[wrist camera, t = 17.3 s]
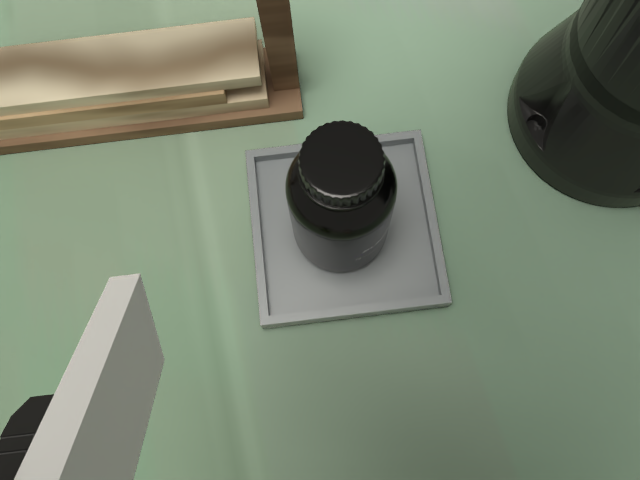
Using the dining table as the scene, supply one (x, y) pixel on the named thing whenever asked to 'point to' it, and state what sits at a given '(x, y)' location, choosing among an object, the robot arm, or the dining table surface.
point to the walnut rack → (281, 108)
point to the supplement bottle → (341, 196)
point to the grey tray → (358, 285)
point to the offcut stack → (131, 78)
